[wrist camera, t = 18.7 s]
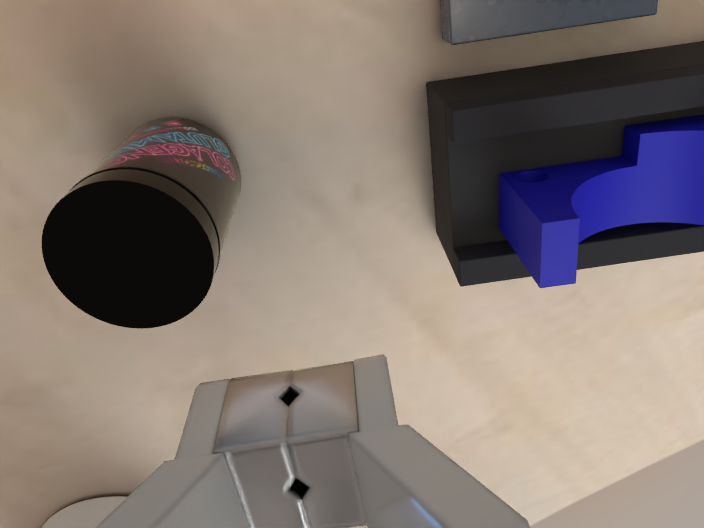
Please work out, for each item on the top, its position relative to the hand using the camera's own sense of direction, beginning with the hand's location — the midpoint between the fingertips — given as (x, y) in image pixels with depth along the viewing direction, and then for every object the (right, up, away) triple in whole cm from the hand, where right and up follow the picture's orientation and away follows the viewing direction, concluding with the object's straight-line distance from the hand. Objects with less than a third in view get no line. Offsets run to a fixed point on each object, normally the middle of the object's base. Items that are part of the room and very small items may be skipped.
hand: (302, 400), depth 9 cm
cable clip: (+14, +7, +19) cm, 25 cm away
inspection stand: (+13, +9, +23) cm, 28 cm away
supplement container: (-9, +7, +23) cm, 26 cm away
